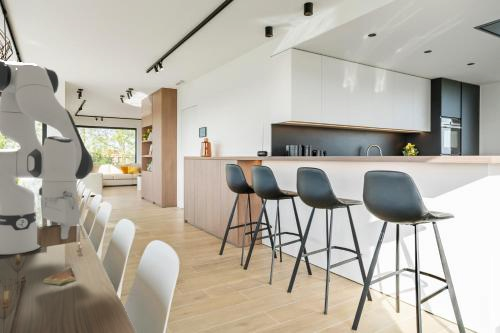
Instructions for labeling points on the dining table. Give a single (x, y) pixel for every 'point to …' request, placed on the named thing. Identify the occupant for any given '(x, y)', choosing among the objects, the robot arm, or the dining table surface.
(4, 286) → the dining table surface
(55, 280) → the shard
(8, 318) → the dining table surface
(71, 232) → the wooden block
